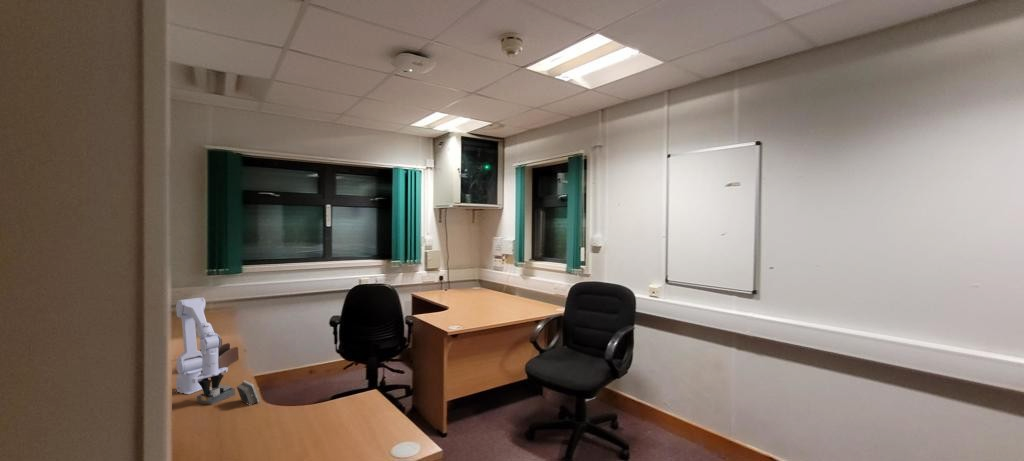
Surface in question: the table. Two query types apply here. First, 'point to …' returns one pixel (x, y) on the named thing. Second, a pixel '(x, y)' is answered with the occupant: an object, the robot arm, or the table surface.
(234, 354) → the letter holder
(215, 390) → the grey block
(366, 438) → the table surface
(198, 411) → the table surface
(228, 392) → the rack
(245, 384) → the electrical switch
